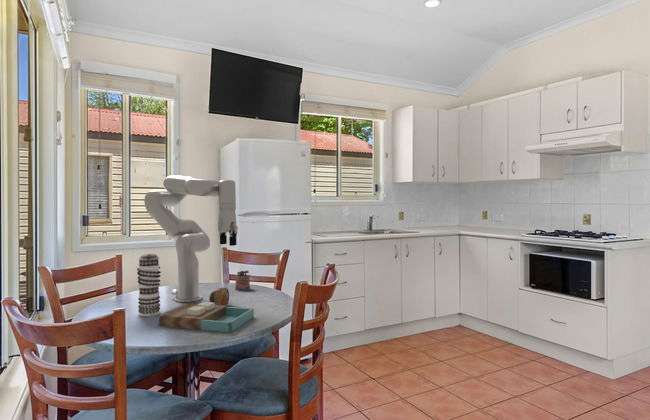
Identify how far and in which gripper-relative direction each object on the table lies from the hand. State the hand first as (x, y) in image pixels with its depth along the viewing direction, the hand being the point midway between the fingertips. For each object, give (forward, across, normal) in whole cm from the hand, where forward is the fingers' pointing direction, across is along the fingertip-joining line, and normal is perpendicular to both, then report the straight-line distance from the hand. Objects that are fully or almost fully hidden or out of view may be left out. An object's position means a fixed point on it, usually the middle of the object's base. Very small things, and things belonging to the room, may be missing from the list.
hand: (228, 244), depth 187 cm
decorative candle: (+28, -9, -32) cm, 43 cm away
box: (+28, +25, -12) cm, 40 cm away
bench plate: (+28, +13, -21) cm, 37 cm away
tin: (+28, +1, -5) cm, 29 cm away
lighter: (+28, -27, +21) cm, 44 cm away
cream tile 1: (+24, +18, -22) cm, 37 cm away
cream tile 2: (+24, +13, -17) cm, 32 cm away
